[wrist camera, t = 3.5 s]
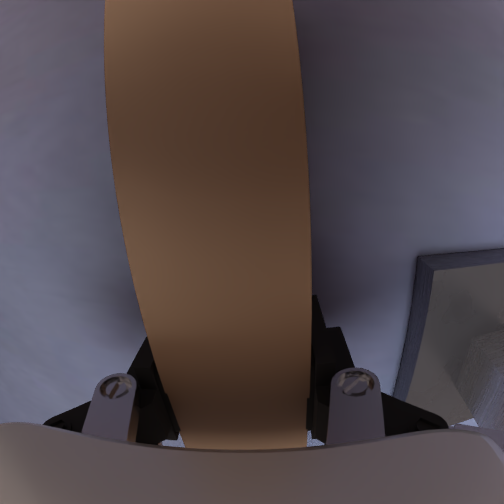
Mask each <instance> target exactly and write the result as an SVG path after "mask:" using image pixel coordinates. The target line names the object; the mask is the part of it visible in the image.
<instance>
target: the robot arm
mask: <svg viewBox="0 0 504 504" xmlns="http://www.w3.org/2000/svg"><path fill="white" fill-rule="evenodd" d="M307 429H308V431H310V430H311V435H312V439H318V440H320V441H321V442H323V443H324V445H322V446H311V447H299V448H284V449H257V450H224V449H198V448H183V447H171V446H163V444H162V441H164V440H165V439H167V440H177V439H178V435H179V431H181V429H180V427H179V424H178V422H177V419H176V416H175V414H174V411H173V408H172V405H171V403H170V400H169V397H168V394H167V393H165V391H164V388H163V385H162V382H161V379H160V376H159V373H158V370H157V367H156V364H155V360H154V357H153V354H152V351H151V347H150V344H149V340H148V337H146V339H145V340H144V342H143V344H142V346H141V348H140V350H139V351H138V353H137V355H136V357H135V359H134V361H133V363H132V364H131V366H130V368H129V370H128V372H127V374H125V373H117V374H112V375H109V376H107V377H105V378H104V379H102V380H101V381H100V382H99V383H98V384H97V386H96V388H95V391H94V394H93V397H92V400H91V401H89V402H87V403H85V404H82V405H80V406H78V407H76V408H73V409H71V410H69V411H66V412H64V413H62V414H59V415H57V416H54V417H52V418H50V419H49V420H47V421H46V422H45V423H44V424H43V425H41V424H34V423H26V422H11V423H2V424H0V504H504V431H503V430H495V429H488V428H481V427H475V426H469V425H463V424H457V423H455V425H454V427H453V426H448V424H447V422H446V421H445V420H444V419H443V418H442V417H441V416H439V415H437V414H435V413H432V412H429V411H427V410H424V409H422V408H419V407H417V406H414V405H412V404H409V403H407V402H404V401H402V400H399V399H397V398H394V397H392V396H390V395H387V394H385V393H382V392H381V390H380V382H379V379H378V377H377V376H376V375H375V374H374V373H372V372H371V371H369V370H366V369H363V368H355V367H354V364H353V361H352V358H351V355H350V352H349V350H348V347H347V344H346V341H345V338H344V336H343V333H342V330H341V328H340V327H332V328H326V326H325V322H324V319H323V315H322V312H321V309H320V306H319V302H318V299H317V296H316V295H312V322H311V368H310V394H309V398H307V409H306V430H307Z"/></svg>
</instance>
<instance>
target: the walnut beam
mask: <svg viewBox="0 0 504 504" xmlns="http://www.w3.org/2000/svg"><path fill="white" fill-rule="evenodd" d="M104 68H105V92H106V108H107V121H108V132H109V142H110V151H111V160H112V168H113V175H114V183H115V189H116V196H117V202H118V208H119V214H120V220H121V226H122V231H123V236H124V241H125V247H126V251H127V256H128V261H129V266H130V270H131V275H132V279H133V283H134V287H135V292H136V296H137V300H138V304H139V307H140V311H141V315H142V319H143V323H144V326H145V330H146V333H147V337H148V340H149V344H150V347H151V351H152V354H153V357H154V360H155V364H156V367H157V370H158V373H159V376H160V379H161V382H162V385H163V388H164V391H165V393H167V394H168V397H169V400H170V403H171V405H172V408H173V411H174V414H175V416H176V419H177V422H178V424H179V427H180V429H181V431H179V432H180V435H181V437H182V440H183V442H184V445H185V447H186V448H198V449H224V450H257V449H284V448H299V447H306V446H307V431H308V429H307V430H306V409H307V398H309V394H310V368H311V322H312V267H311V221H310V194H309V173H308V155H307V139H306V125H305V112H304V100H303V89H302V78H301V68H300V58H299V49H298V41H297V32H296V24H295V16H294V9H293V2H292V0H105V17H104Z"/></svg>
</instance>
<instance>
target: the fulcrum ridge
mask: <svg viewBox="0 0 504 504" xmlns="http://www.w3.org/2000/svg"><path fill="white" fill-rule="evenodd" d="M393 397H394V398H397V399H399V400H402V401H404V402H407V403H409V404H412V405H414V406H417V407H419V408H422V409H424V410H427V411H429V412H432V413H435V414H437V415H439V416H441V417H442V418H443V419H444V420H445V421H446V422H447V424H448V426H450V425H454V424H455V423H460V422H463V421H466V420H469V419H471V418H474V419H475V421H476V423H477V424H478V426H479V427H481V428H488V429H495V430H503V431H504V248H503V249H493V250H483V251H472V252H462V253H451V254H440V255H428V256H418V260H417V269H416V278H415V286H414V293H413V300H412V307H411V313H410V319H409V325H408V331H407V336H406V341H405V346H404V351H403V356H402V360H401V365H400V369H399V373H398V378H397V382H396V386H395V390H394V393H393Z"/></svg>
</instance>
